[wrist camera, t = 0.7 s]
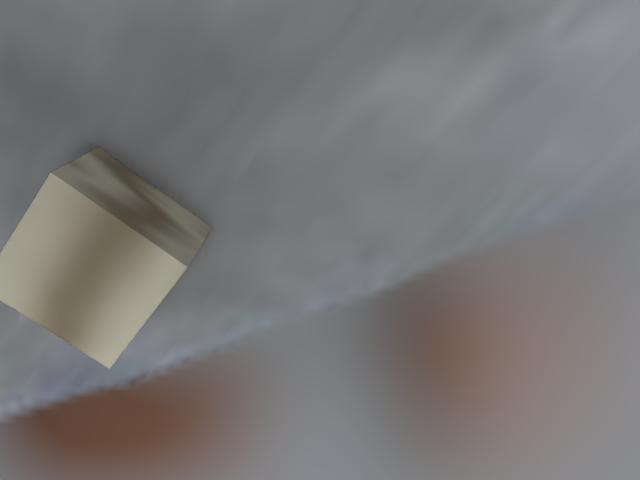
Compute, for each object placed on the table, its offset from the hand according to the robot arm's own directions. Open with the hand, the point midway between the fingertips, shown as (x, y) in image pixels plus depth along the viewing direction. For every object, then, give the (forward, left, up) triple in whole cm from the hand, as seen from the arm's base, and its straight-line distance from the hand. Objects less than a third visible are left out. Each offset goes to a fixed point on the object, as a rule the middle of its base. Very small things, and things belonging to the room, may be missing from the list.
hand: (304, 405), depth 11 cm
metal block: (-6, -12, -23) cm, 27 cm away
